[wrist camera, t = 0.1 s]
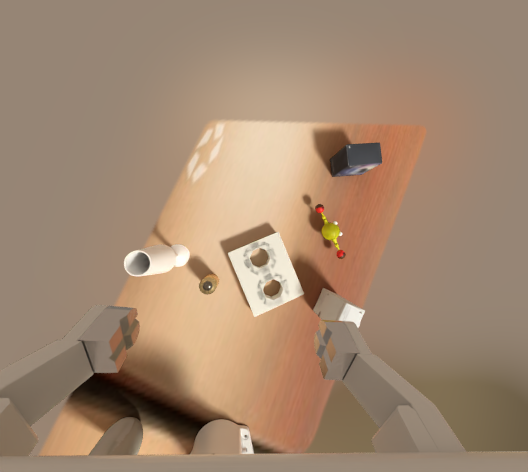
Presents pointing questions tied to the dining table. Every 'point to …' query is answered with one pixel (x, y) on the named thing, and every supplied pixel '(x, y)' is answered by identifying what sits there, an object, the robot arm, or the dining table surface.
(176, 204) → the dining table surface
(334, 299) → the skincare box
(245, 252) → the jig
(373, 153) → the small box
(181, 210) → the dining table surface
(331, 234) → the toy figure
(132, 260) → the champagne flute
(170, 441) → the dining table surface
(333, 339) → the robot arm
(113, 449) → the grey bottle
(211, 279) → the bushing
